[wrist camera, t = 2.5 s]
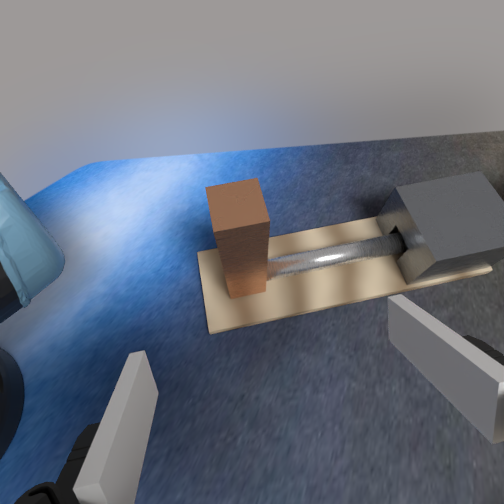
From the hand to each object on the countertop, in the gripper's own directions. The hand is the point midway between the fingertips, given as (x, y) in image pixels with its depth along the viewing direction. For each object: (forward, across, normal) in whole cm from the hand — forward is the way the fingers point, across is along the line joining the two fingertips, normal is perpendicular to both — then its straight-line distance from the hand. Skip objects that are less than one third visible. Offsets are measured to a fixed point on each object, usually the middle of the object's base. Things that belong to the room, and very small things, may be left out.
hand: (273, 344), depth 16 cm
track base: (+20, +12, -5) cm, 23 cm away
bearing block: (+19, +23, -4) cm, 30 cm away
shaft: (+19, +8, -4) cm, 21 cm away
